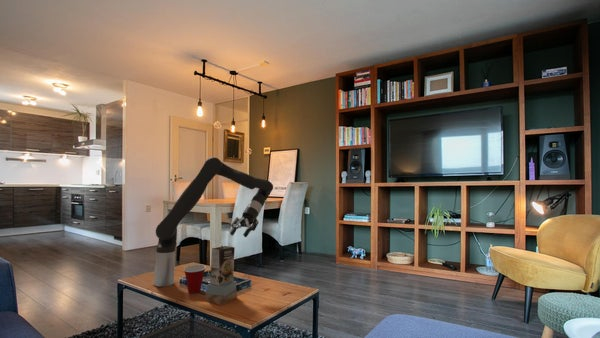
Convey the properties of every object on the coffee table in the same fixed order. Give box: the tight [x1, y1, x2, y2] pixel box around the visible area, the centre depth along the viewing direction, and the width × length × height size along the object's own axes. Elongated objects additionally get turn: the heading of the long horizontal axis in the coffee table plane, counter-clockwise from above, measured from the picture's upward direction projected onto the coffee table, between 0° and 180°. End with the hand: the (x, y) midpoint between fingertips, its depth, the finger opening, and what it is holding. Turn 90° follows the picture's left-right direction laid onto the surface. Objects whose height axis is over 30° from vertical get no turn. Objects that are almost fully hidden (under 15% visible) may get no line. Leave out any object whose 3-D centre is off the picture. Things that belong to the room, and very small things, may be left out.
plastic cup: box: [182, 263, 207, 294], centre depth 157 cm, size 11×11×12 cm
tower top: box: [206, 280, 237, 296], centre depth 146 cm, size 10×10×4 cm
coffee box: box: [209, 245, 236, 286], centre depth 148 cm, size 9×6×16 cm
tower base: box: [205, 289, 238, 306], centre depth 146 cm, size 10×10×4 cm
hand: (237, 235), depth 157 cm, fingers open, 8 cm apart
